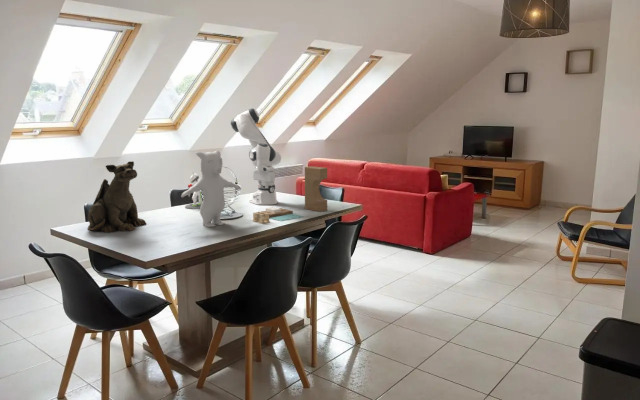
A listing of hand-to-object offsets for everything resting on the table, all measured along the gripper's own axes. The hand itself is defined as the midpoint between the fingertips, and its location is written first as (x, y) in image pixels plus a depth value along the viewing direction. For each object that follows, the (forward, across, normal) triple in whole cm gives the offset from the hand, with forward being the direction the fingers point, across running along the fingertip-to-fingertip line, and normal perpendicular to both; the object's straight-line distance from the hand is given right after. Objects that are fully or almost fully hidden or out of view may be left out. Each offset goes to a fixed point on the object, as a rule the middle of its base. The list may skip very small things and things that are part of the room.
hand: (263, 187), depth 348 cm
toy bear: (+17, +10, -46) cm, 50 cm away
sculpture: (+17, -22, -92) cm, 96 cm away
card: (+15, +10, 0) cm, 18 cm away
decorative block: (+17, +18, +32) cm, 41 cm away
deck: (+17, +11, 0) cm, 20 cm away
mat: (+17, +24, 0) cm, 29 cm away
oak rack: (+17, +23, -20) cm, 35 cm away
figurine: (+17, -49, -24) cm, 57 cm away
